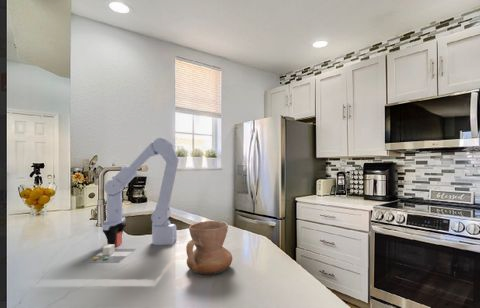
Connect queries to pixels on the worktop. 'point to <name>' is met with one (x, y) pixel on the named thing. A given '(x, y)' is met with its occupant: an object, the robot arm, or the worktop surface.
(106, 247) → the block
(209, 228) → the ceramic jug
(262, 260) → the worktop surface
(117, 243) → the block
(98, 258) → the breaker panel
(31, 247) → the worktop surface
